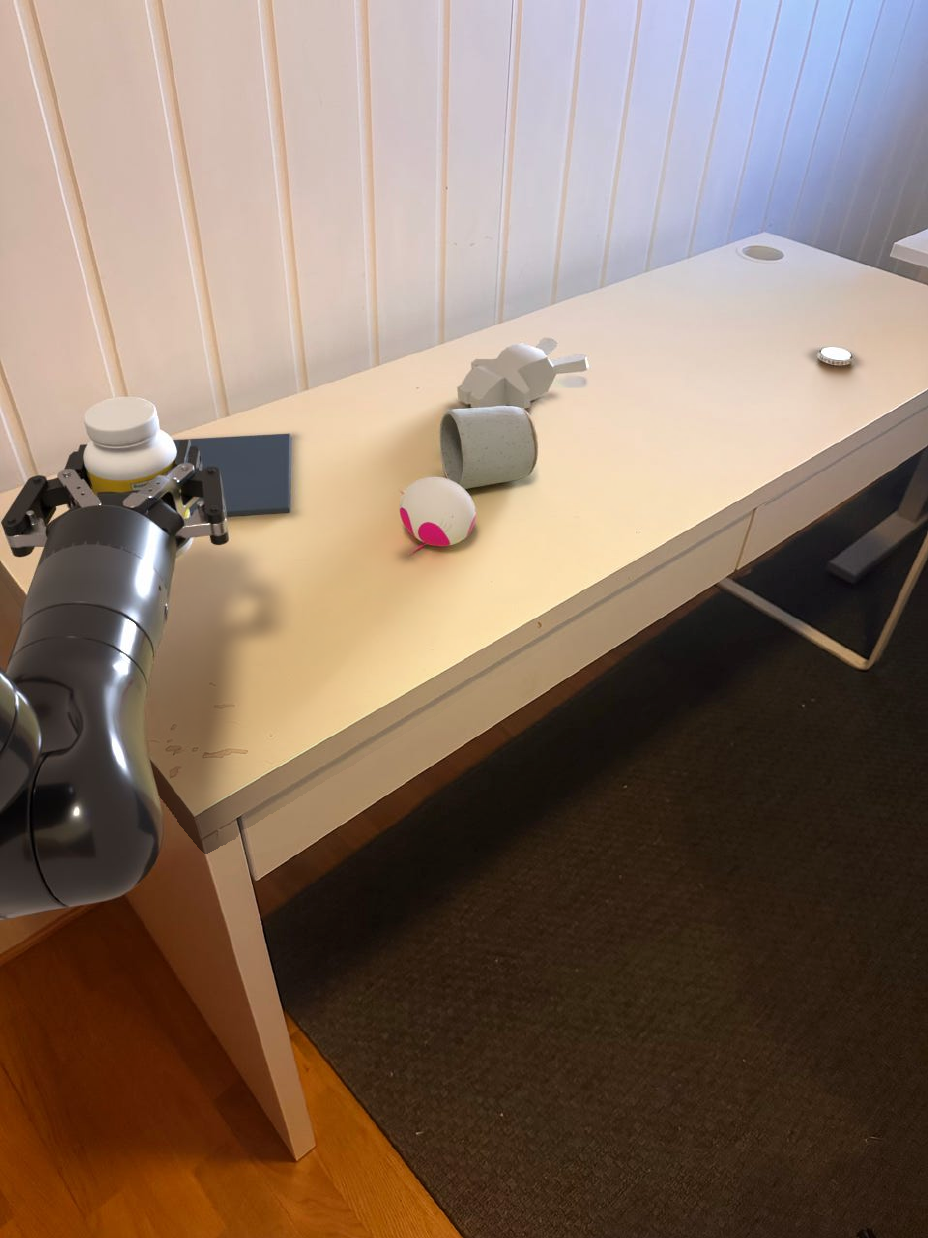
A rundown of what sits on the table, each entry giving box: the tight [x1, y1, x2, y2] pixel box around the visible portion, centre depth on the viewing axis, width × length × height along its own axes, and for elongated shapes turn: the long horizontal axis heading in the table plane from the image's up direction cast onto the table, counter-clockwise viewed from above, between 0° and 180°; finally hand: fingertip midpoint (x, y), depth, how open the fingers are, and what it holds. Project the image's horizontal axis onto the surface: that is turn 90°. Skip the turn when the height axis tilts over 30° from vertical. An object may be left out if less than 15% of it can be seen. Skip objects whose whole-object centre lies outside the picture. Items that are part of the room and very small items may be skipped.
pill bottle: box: [83, 396, 194, 560], centre depth 64 cm, size 6×6×11 cm
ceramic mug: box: [438, 405, 539, 490], centre depth 88 cm, size 11×8×8 cm
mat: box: [172, 433, 292, 517], centre depth 89 cm, size 14×14×1 cm
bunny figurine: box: [456, 337, 590, 410], centre depth 102 cm, size 10×5×15 cm
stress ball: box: [398, 475, 477, 555], centre depth 80 cm, size 8×8×7 cm
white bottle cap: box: [817, 346, 854, 366], centre depth 111 cm, size 4×4×1 cm
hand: (138, 453), depth 65 cm, fingers closed on pill bottle, 6 cm apart
